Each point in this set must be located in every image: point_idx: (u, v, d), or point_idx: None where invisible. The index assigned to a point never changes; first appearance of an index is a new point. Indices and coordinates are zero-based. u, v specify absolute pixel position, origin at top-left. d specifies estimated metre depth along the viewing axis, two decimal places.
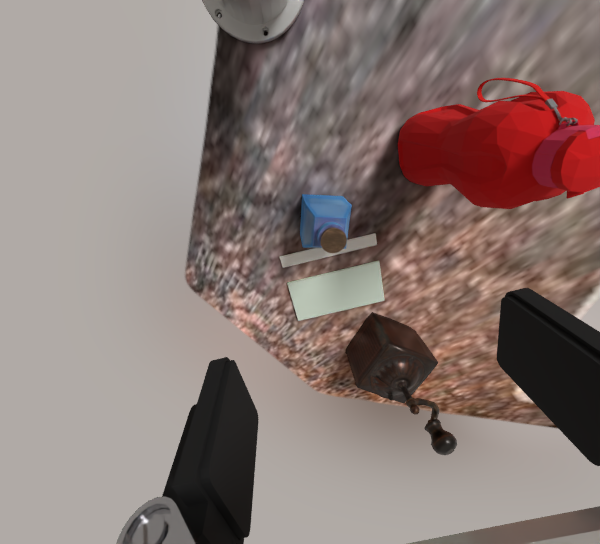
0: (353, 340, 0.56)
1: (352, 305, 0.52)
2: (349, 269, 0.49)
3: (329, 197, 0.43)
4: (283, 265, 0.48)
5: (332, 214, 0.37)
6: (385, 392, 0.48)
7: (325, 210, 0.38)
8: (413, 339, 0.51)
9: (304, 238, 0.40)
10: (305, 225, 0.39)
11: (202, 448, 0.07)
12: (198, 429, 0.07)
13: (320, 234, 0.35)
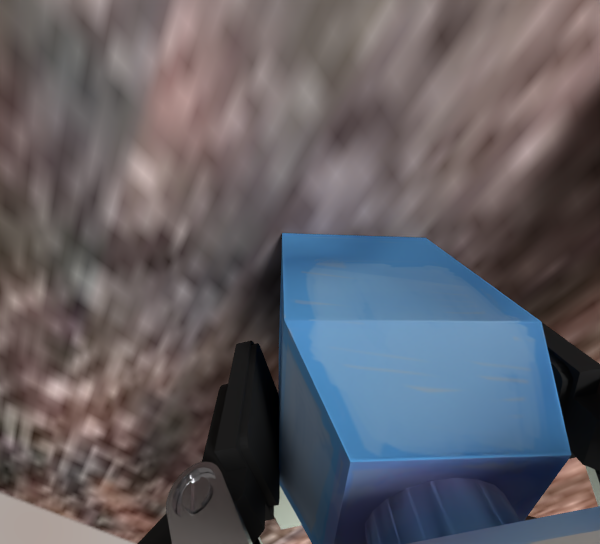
0: None
1: None
2: None
3: (385, 248, 0.11)
4: None
5: (461, 417, 0.05)
6: None
7: (407, 379, 0.06)
8: None
9: (284, 464, 0.08)
10: (286, 421, 0.07)
11: (239, 419, 0.07)
12: (233, 403, 0.08)
13: None
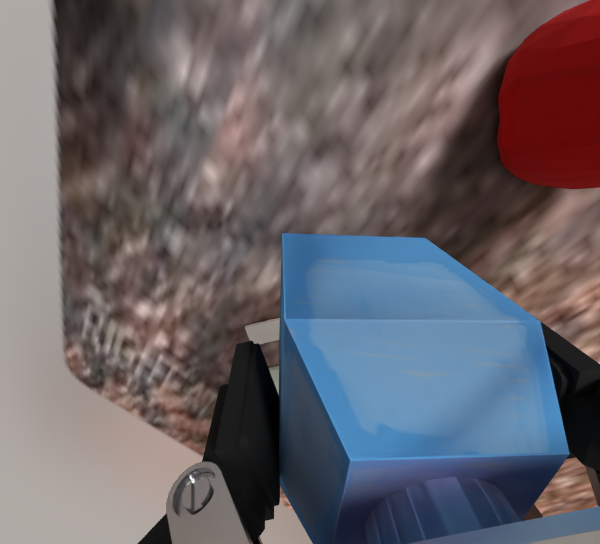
0: None
1: None
2: None
3: (385, 248, 0.11)
4: None
5: (459, 416, 0.05)
6: None
7: (407, 379, 0.06)
8: None
9: (284, 463, 0.08)
10: (286, 420, 0.07)
11: (240, 418, 0.07)
12: (233, 403, 0.08)
13: None
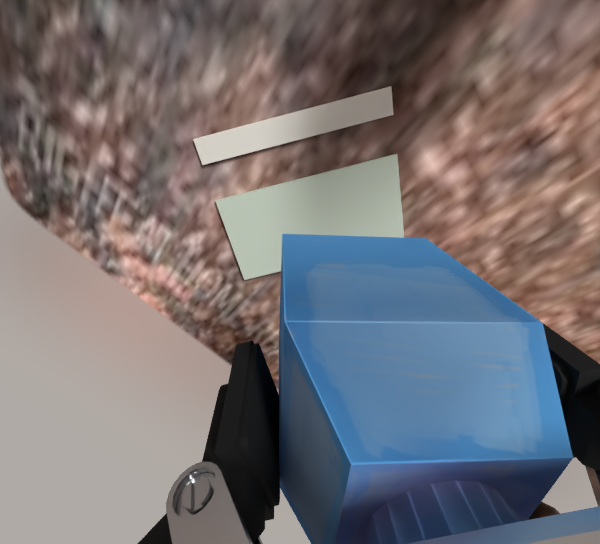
0: None
1: None
2: (337, 171, 0.25)
3: (385, 248, 0.11)
4: (203, 159, 0.24)
5: (462, 420, 0.05)
6: None
7: (408, 381, 0.06)
8: None
9: (284, 466, 0.08)
10: (286, 422, 0.07)
11: (239, 418, 0.07)
12: (233, 403, 0.08)
13: None
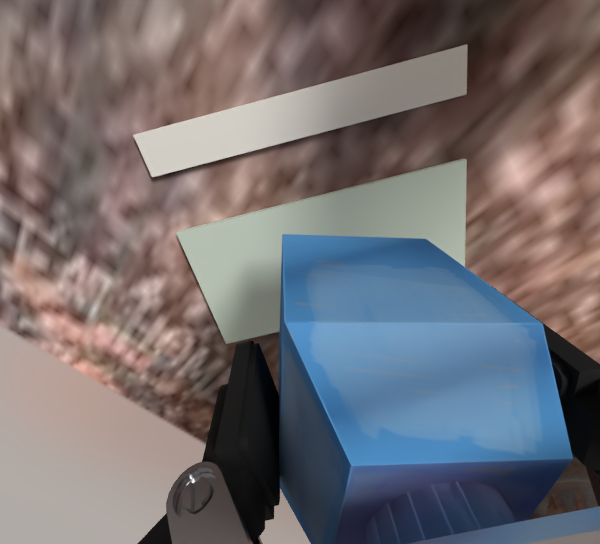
0: None
1: None
2: (370, 187, 0.16)
3: (385, 249, 0.11)
4: (152, 168, 0.15)
5: (462, 420, 0.05)
6: None
7: (408, 382, 0.06)
8: None
9: (284, 466, 0.08)
10: (287, 423, 0.07)
11: (240, 418, 0.07)
12: (233, 403, 0.08)
13: None
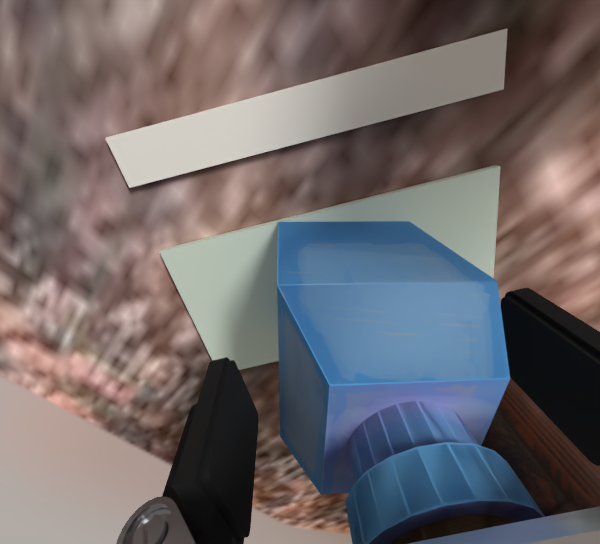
0: None
1: None
2: (386, 198, 0.13)
3: (370, 230, 0.12)
4: (129, 177, 0.12)
5: (421, 354, 0.07)
6: None
7: (379, 327, 0.07)
8: None
9: (283, 416, 0.10)
10: (283, 375, 0.09)
11: (202, 448, 0.07)
12: (198, 429, 0.07)
13: None
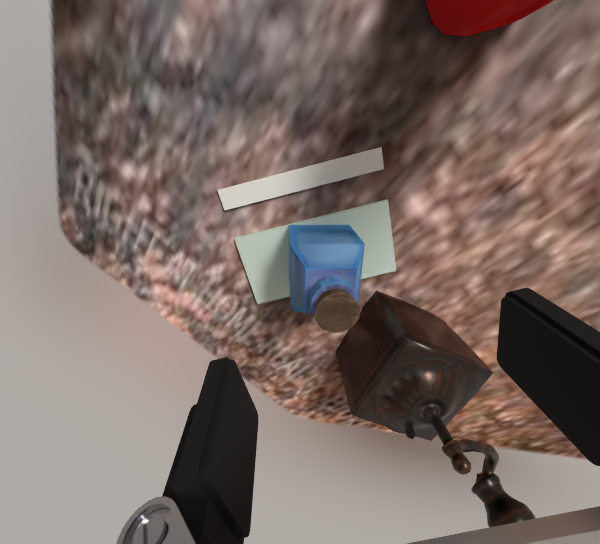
0: (347, 336, 0.36)
1: None
2: (337, 214, 0.29)
3: (329, 228, 0.28)
4: (225, 206, 0.29)
5: (333, 261, 0.23)
6: (401, 424, 0.28)
7: (321, 255, 0.23)
8: (445, 334, 0.31)
9: (292, 297, 0.26)
10: (292, 278, 0.25)
11: (202, 448, 0.07)
12: (198, 429, 0.07)
13: (314, 300, 0.21)
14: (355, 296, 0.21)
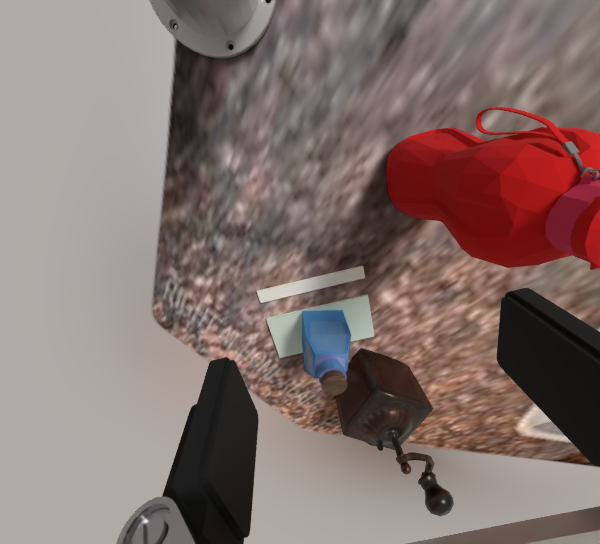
0: None
1: None
2: (334, 304, 0.44)
3: (329, 315, 0.44)
4: (261, 300, 0.43)
5: (332, 349, 0.38)
6: (374, 441, 0.43)
7: (325, 344, 0.38)
8: (406, 380, 0.47)
9: (306, 364, 0.41)
10: (306, 354, 0.40)
11: (202, 447, 0.07)
12: (198, 429, 0.07)
13: (321, 376, 0.36)
14: (344, 374, 0.36)
